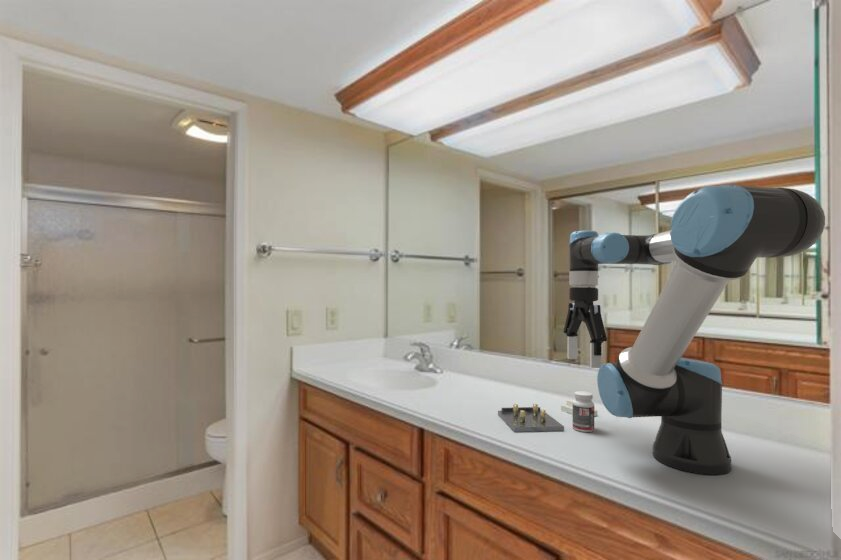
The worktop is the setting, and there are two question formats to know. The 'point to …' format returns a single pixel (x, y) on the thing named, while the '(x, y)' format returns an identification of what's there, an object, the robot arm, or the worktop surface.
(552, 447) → the worktop surface
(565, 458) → the worktop surface
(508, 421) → the plate
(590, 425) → the pill bottle
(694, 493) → the worktop surface
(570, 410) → the soap dish
